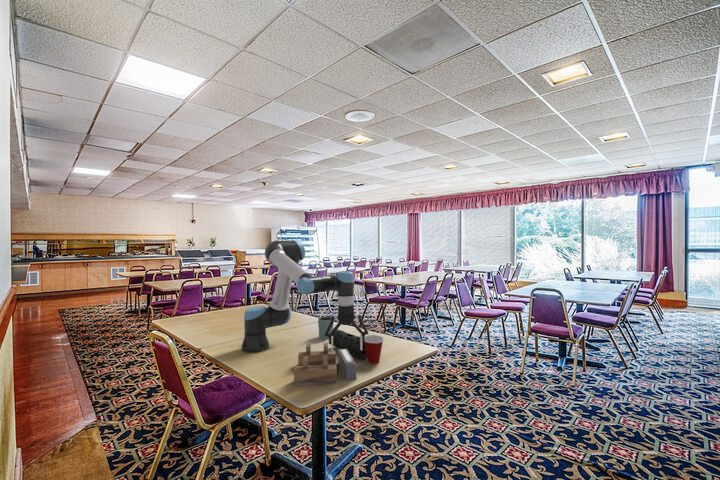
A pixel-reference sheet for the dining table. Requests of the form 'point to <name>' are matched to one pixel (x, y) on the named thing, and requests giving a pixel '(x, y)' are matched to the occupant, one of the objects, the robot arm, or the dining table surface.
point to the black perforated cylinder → (349, 343)
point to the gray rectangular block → (347, 364)
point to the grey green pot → (324, 326)
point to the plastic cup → (373, 348)
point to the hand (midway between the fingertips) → (346, 350)
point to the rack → (316, 367)
